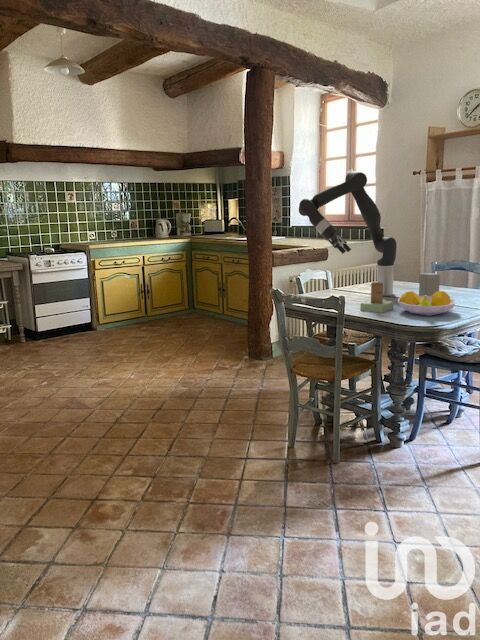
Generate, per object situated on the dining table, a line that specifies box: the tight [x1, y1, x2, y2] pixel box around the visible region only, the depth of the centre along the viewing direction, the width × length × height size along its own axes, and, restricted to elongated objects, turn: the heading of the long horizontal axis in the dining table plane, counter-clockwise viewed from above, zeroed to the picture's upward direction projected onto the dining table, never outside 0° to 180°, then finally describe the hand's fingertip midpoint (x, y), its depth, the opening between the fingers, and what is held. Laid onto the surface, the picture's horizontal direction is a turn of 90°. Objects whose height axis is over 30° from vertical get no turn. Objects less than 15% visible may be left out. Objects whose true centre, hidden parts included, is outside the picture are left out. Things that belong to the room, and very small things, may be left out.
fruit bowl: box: [397, 290, 456, 317], centre depth 247 cm, size 28×27×11 cm
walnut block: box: [370, 281, 384, 303], centre depth 258 cm, size 5×5×10 cm
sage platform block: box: [360, 299, 394, 313], centre depth 260 cm, size 12×12×4 cm
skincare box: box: [418, 272, 441, 296], centre depth 269 cm, size 8×7×16 cm
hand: (347, 251), depth 267 cm, fingers open, 8 cm apart
